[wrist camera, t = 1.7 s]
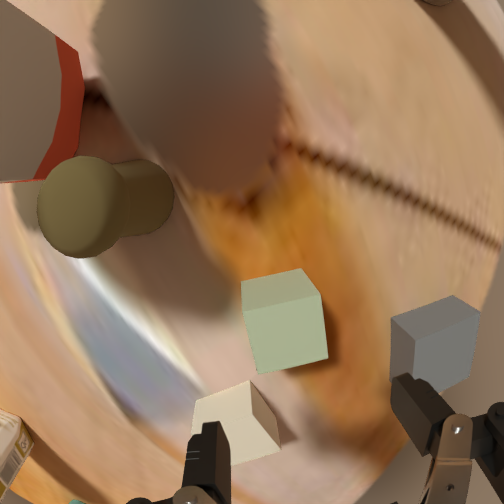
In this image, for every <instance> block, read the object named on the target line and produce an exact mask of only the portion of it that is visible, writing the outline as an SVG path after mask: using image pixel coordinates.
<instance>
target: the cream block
mask: <svg viewBox="0 0 504 504" xmlns="http://www.w3.org/2000/svg"><path fill="white" fill-rule="evenodd" d="M213 421H220V423H221V425H222V427H223V430H224V432H225V434H226V437H227V439H228V441H229V445H230V450H231V466H233V465H236V464H240V463H243V462H247V461H250V460H254V459H257V458H260V457H263V456H266V455H269V454H272V453H275V452H278V451H281V444H280V438H279V432H278V426H277V420H276V416H275V415H274V414H273V412H272V411H271V410H270V408H269V407H268V405H267V404H266V402H265V401H264V400H263V398H262V397H261V395H260V394H259V393H258V391H257V390H256V388H255V387H254V385H253V384H252V382H251V381H250V380H248V381H246V382H243V383H241V384H238V385H236V386H233V387H231V388H228V389H225V390H223V391H220V392H218V393H215V394H212V395H209V396H207V397H204V398H201V399H198V400H196V404H195V410H194V416H193V423H192V429H191V435H192V436H193V435H194V434H201V431H202V424H203V423H204V422H213Z"/></svg>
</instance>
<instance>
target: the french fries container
mask: <svg viewBox="0 0 504 504" xmlns="http://www.w3.org/2000/svg"><path fill="white" fill-rule="evenodd" d="M84 92H85V85H84V80H83V76H82V71H81V66H80V60H79V55H78V52H77V51H76V50H75V49H73V48H72V47H71V46H69V45H68V44H67V43H65V42H64V41H63V40H61V39H60V38H59V37H57V36H56V35H55V34H53V33H52V32H51V31H49V30H48V29H46V28H45V27H44V26H42V25H41V24H39V23H38V22H37V21H35V20H34V19H32V18H31V17H30V16H28V15H27V14H25V13H24V12H22V11H21V10H20V9H18V8H17V7H15V6H14V5H12V4H11V3H9V2H8V1H6V0H0V183H13V182H28V181H38V180H45V179H46V178H47V176H48V175H49V173H50V172H51V170H52V169H54V168H55V167H56V166H57V165H59V164H60V163H61V162H63V161H65V160H68V159H71V158H73V156H74V154H75V152H76V150H77V148H78V144H79V132H80V122H81V114H82V106H83V99H84Z"/></svg>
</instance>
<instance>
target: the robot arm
mask: <svg viewBox="0 0 504 504" xmlns="http://www.w3.org/2000/svg"><path fill="white" fill-rule="evenodd" d="M423 1H425V2H427V3H430V4H433V5H438V6H442V5H446V4H448V3H449V2H451V1H452V0H423ZM390 402H391V407H392V410H393V412H394V413H395V415H396V417H397V418H398V420H399V421H400V423H401V424H402V426H403V427H404V429H405V430H406V432H407V433H408V435H409V437H410V438H411V440H412V441H413V443H414V444H415V446H416V448H417V449H418V451H419V452H420V454H421V455H422V457H423V456H425V455H427V454H429V453H430V454H431V455H432V460H431V464H430V468H429V472H428V475H427V479H426V483H425V487H424V489H423V492H422V495H421V498H420V500H419V503H418V504H465V503H466V498H467V493H468V488H469V482H470V476H471V469H472V461H471V459H474V458H475V460H476V462H477V463H478V465H479V466H480V468H481V469H482V471H483V472H484V474H485V476H486V477H487V479H488V480H489V481H490V483H491V485H492V487H493V488H494V490H495V491H496V493H497V495H498V497H499V498H500V500H501V502H502V503H503V504H504V402H498V403H495V404H493V405H492V406H491V407H490V408H489V410H488V412H487V414H484V415H480V416H476V417H472V418H470V417H468V416H467V415H465V414H456V413H455V412H454V411H453V410H452V408H451V407H450V406H449V405H448V404H447V403H446V402H445V400H444V399H443V398H442V397H441V396H440V395H439V394H438V393H437V391H436V390H434V388H433V387H432V386H431V385H430V384H429V382H427V381H425V380H423V379H421V378H418V379H416V380H415V379H414V378H413V377H412V376H411V375H410V373H408V372H406V373H404V374H401V375H399V376H396V377H393V379H392V386H391V399H390ZM126 504H231V450H230V445H229V441H228V439H227V437H226V434H225V432H224V430H223V427H222V425H221V423H220V421H213V422H204V423H203V424H202V431H201V434H194V435H193V436H192V438H191V439H190V441H189V442H188V447H187V453H186V460H185V467H184V474H183V482H182V487H181V489H179V490H178V491H177V492H176V493H175V494H174V496H173V497H171V498H168V499H165V500H161V501H157V502H151V501H150V500H148V499H146V498H134V499H132V500H130V501H128V502H127V503H126ZM392 504H398V503H397V502H394V503H392Z"/></svg>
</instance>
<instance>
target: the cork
mask: <svg viewBox="0 0 504 504" xmlns="http://www.w3.org/2000/svg"><path fill="white" fill-rule="evenodd" d="M173 202H174V191H173V185H172V182H171V180H170V178H169V176H168V174H167V173H166V172H165V171H164V170H163V169H162V168H161V167H160V166H159V165H157V164H155V163H153V162H151V161H147V160H133V161H127V162H122V163H117V164H112V165H111V164H110V163H108V162H106V161H104V160H102V159H100V158H98V157H93V156H77V157H74V158H71V159H68V160H65V161H63V162H61V163H60V164H59V165H57V166H56V167H55V168H54V169H52V170H51V172H50V173H49V175H48V176H47V178H46V179H45V181H44V182H43V184H42V186H41V189H40V192H39V195H38V200H37V216H38V222H39V226H40V228H41V231H42V233H43V235H44V237H45V238H46V240H47V241H48V242H49V243H50V244H51V246H52V247H53V248H55V249H56V250H58V251H59V252H61V253H62V254H64V255H65V256H69V257H74V258H88V257H94V256H97V255H99V254H100V253H102V252H104V251H105V250H107V249H109V248H110V247H112V246H113V245H114V244H115V242H116V241H117V240H118V239H119V238H120V237H127V236H134V235H141V234H147V233H151V232H152V231H154V230H156V229H158V228H160V226H161V225H162V224H163V223H164V222H165V221H166V220H167V219H168V217H169V215H170V213H171V210H172V208H173Z"/></svg>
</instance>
